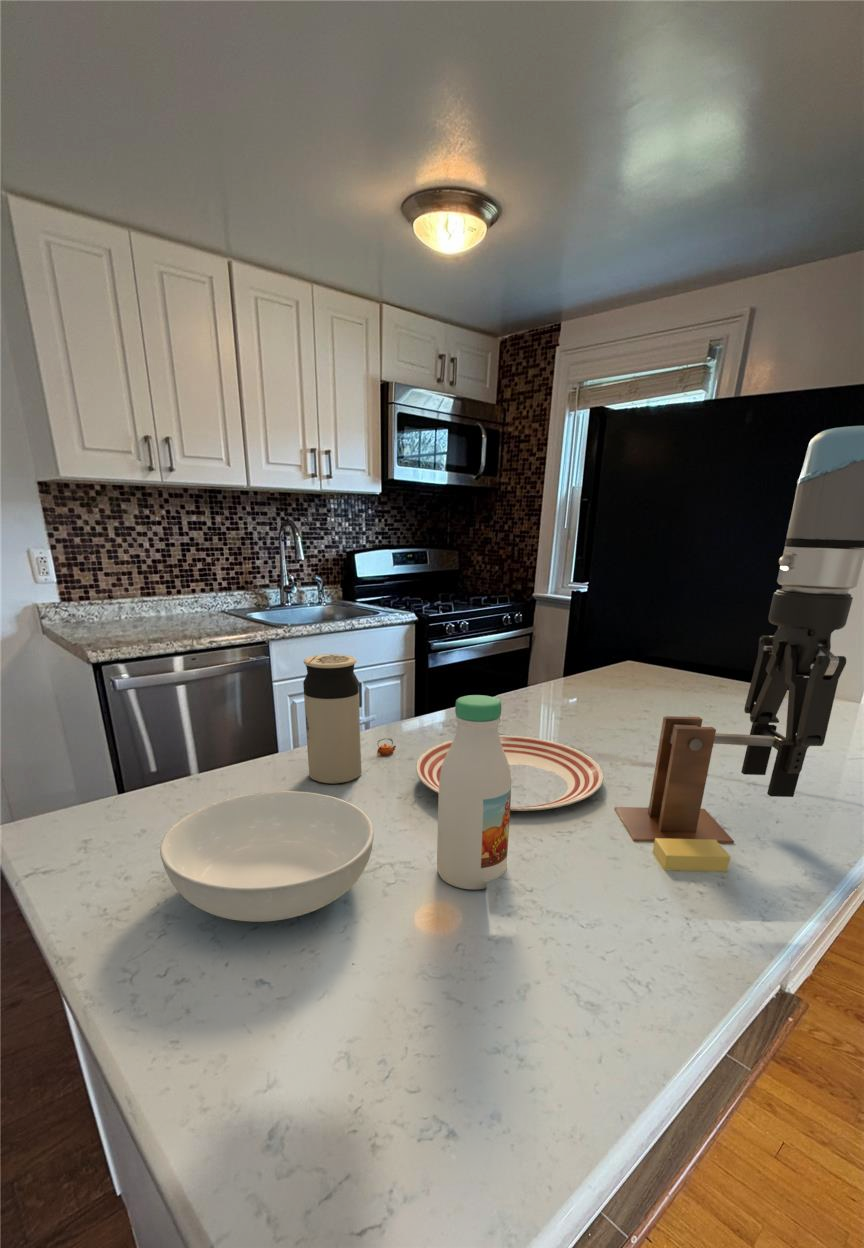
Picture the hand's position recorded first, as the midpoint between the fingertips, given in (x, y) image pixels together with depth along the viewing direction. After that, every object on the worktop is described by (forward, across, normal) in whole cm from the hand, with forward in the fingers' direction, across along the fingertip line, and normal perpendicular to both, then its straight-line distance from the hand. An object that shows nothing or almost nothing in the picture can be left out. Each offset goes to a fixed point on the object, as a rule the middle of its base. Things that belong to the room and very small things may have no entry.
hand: (766, 783), depth 75 cm
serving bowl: (+8, +15, -57) cm, 60 cm away
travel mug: (+8, -17, -56) cm, 59 cm away
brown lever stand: (+7, 0, -11) cm, 13 cm away
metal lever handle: (-4, 0, -6) cm, 7 cm away
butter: (+7, +9, -12) cm, 16 cm away
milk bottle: (+8, +11, -36) cm, 39 cm away
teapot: (+8, -27, -49) cm, 57 cm away
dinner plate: (+7, -15, -30) cm, 34 cm away
